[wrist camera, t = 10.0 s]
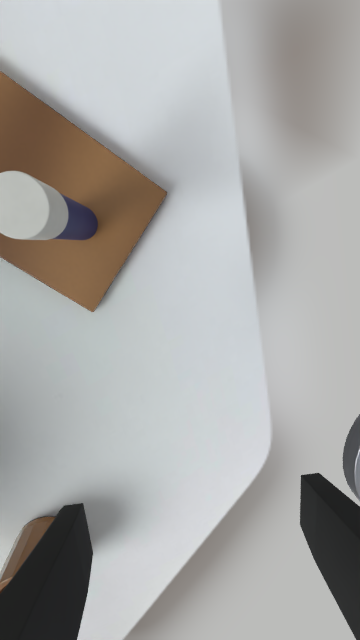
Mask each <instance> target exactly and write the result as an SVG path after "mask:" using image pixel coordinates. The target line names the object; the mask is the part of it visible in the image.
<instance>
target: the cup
mask: <svg viewBox="0 0 360 640" xmlns="http://www.w3.org/2000/svg"><path fill="white" fill-rule="evenodd" d="M54 519H55V517H42V518H38V519H35V520H33V521H31V522H29V523H28V524H26V525H25V526H24V527H23V528H22V530H21V531H20V533H19V535H18V536H17V538H16V540H15V542H14V544H13V546H12V549H11V551H10V553H9V555H8V557H7V559H6V561H5V563H4V566H3V568H2V570H1V572H0V593H1V592H2V591H3V589H4V588H5V587H6V586H7V584H8V583H9V582H10V580H11V579H12V578H13V576H14V575H15V574H16V572H17V571H18V570H19V568H20V567H21V565H22V564H23V563H24V561H25V560H26V559H27V557H28V556H29V554H30V553H31V552H32V550H33V549H34V547H35V546H36V545H37V543H38V542H39V540H40V539H41V537H42V536H43V535H44V533H45V532H46V530H47V529H48V527H49V526H50V524H51V523H52V522H53V520H54Z"/></svg>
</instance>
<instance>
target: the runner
mask: <svg viewBox="0 0 360 640" xmlns="http://www.w3.org/2000/svg"><path fill="white" fill-rule="evenodd" d="M5 171H20V172H23V173H26V174H28V175H30V176H32V177H34V178H36V179H37V180H39V181H41V182H43V183H45V184H47V185H49V186H50V187H52V188H54V189H55V190H57V191H58V192H59V193H61V194H63V195H64V196H66V197H68V198H70V199H72V200H74V201H76V202H78V203H80V204H82V205H84V206H85V207H87V208H89V209H90V210H92V211H93V213H94V214H95V216H96V218H97V221H98V227H97V231H96V233H95V234H94V235H93V236H92V237H91V238H89V239H87V240H64V239H49V240H23V239H14V238H10V237H8V236H5V235H4V234H2V233H0V257H1V258H3V259H4V260H6V261H8V262H9V263H11V264H13V265H14V266H16V267H18V268H19V269H21V270H23V271H24V272H26V273H28V274H29V275H31V276H33V277H34V278H36V279H38V280H39V281H41V282H43V283H44V284H46V285H48V286H49V287H51V288H53V289H54V290H56V291H58V292H59V293H61V294H63V295H64V296H66V297H68V298H69V299H71V300H73V301H74V302H76V303H78V304H79V305H81V306H83V307H84V308H86V309H88V310H89V311H91V312H94V311H95V309H96V308H97V306H98V304H99V303H100V301H101V300H102V298H103V296H104V295H105V293H106V291H107V290H108V288H109V287H110V285H111V283H112V282H113V280H114V279H115V277H116V275H117V274H118V272H119V271H120V269H121V267H122V266H123V264H124V263H125V261H126V259H127V258H128V256H129V255H130V253H131V251H132V250H133V248H134V246H135V245H136V243H137V242H138V240H139V238H140V237H141V235H142V234H143V232H144V230H145V229H146V227H147V226H148V224H149V222H150V221H151V219H152V218H153V216H154V214H155V213H156V211H157V210H158V208H159V206H160V205H161V203H162V202H163V200H164V198H165V197H166V195H167V192H166V191H165V190H163V189H162V188H161V187H159V186H158V185H156V184H155V183H154V182H152V181H151V180H150V179H148V178H147V177H145V176H144V175H143V174H141V173H140V172H139V171H137V170H136V169H134V168H133V167H132V166H130V165H129V164H128V163H126V162H125V161H123V160H122V159H121V158H119V157H118V156H117V155H115V154H114V153H112V152H111V151H110V150H108V149H107V148H106V147H104V146H103V145H101V144H100V143H99V142H97V141H96V140H95V139H93V138H92V137H90V136H89V135H88V134H86V133H85V132H84V131H82V130H81V129H79V128H78V127H77V126H75V125H74V124H73V123H71V122H70V121H68V120H67V119H66V118H64V117H63V116H62V115H60V114H59V113H57V112H56V111H55V110H53V109H52V108H51V107H49V106H48V105H46V104H45V103H44V102H42V101H41V100H40V99H38V98H37V97H35V96H34V95H33V94H31V93H30V92H29V91H27V90H26V89H24V88H23V87H22V86H20V85H19V84H18V83H16V82H15V81H13V80H12V79H11V78H9V77H8V76H7V75H5V74H4V73H2V72H1V71H0V173H2V172H5Z"/></svg>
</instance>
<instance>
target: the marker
mask: <svg viewBox="0 0 360 640" xmlns="http://www.w3.org/2000/svg"><path fill="white" fill-rule="evenodd" d="M97 227H98V221H97V218H96V216H95V214H94V213H93V211H92V210H90V209H89V208H87V207H85V206H84V205H82V204H80V203H78V202H76V201H74V200H72V199H70V198H68V197H66V196H64V195H63V194H61V193H59V192H58V191H57V190H55V189H54V188H52V187H50V186H49V185H47V184H45V183H43V182H41V181H39V180H37V179H36V178H34V177H32V176H30V175H28V174H26V173H23V172H20V171H5V172H2V173H0V233H2V234H4V235H5V236H8V237H10V238H14V239H23V240H49V239H64V240H87V239H89V238H91V237H92V236H93V235H94V234H95V233H96V231H97Z"/></svg>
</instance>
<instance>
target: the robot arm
mask: <svg viewBox="0 0 360 640" xmlns="http://www.w3.org/2000/svg"><path fill="white" fill-rule="evenodd" d="M300 505H301V506H300V525H301V528H302V531H303V533H304V536H305V538H306V541H307V543H308V545H309V548H310V550H311V553H312V555H313V557H314V560H315V562H316V564H317V566H318V568H319V570H320V571H321V573H322V575H323V577H324V579H325V581H326V583H327V585H328V587H329V589H330V591H331V593H332V595H333V596H334V598H335V600H336V602H337V604H338V606H339V608H340V610H341V612H342V613H343V615H344V617H345V619H346V621H347V623H348V625H349V627H350V629H351V630H352V632H353V634H354V636H355V638H356V640H360V506H358V505H357V504H356V503H355V502H353V501H352V500H351V499H350V498H349V497H347V496H346V495H345V494H344V493H342V492H341V491H340V490H339V489H338V488H336V487H335V486H334V485H333V484H332V483H330V482H329V481H328V480H327V479H325V478H324V477H323V476H322V475H321V474H319V473H315V474H307V475H301V503H300ZM92 556H93V551H92V546H91V541H90V535H89V530H88V525H87V520H86V515H85V510H84V505H83V503H81V504H73V505H65V506H63V507H62V509H61V510H60V511H59V513H58V514H57V516H56V517H55V519H54V520H53V522H52V523H51V524H50V526H49V527H48V529H47V530H46V532H45V533H44V535H43V536H42V537H41V539H40V540H39V542H38V543H37V545H36V546H35V547H34V549H33V550H32V552H31V553H30V554H29V556H28V557H27V559H26V560H25V561H24V563H23V564H22V565H21V567H20V568H19V570H18V571H17V572H16V574H15V575H14V576H13V578H12V579H11V580H10V582H9V583H8V584H7V586H6V587H5V588H4V589H3V591H2V592H1V593H0V640H77V637H78V633H79V628H80V624H81V620H82V615H83V611H84V606H85V602H86V597H87V593H88V586H89V579H90V572H91V564H92Z"/></svg>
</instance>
